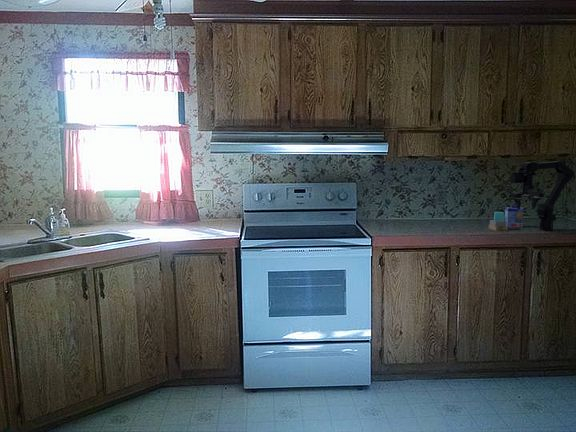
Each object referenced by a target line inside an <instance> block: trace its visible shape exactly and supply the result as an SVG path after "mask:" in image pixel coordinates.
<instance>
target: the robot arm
mask: <svg viewBox="0 0 576 432" xmlns="http://www.w3.org/2000/svg"><path fill="white" fill-rule="evenodd" d="M548 169H554V171H555V172H556V173H557V176H556V179H557V180H556V182H555V184H554V186H553V188H552V190H551V191H550V193H549V195H548V197H547V198H546V200H545V202H543V203H542V202H541V203H539V205H538V207H537V208H536V206H537V204H538V202H539V201H540V200H541V199H543V198H544V197H545V193H544V192H543V189H542V188H540V187H539V188H536V187H535V184H534V177H535V176H538V174H537V173H536V172H537V171H539V170H548ZM574 177H575V171H574V170H573V169H571V168H570V167H569V166H568V165H566V164H565V163H564V162H562V161H560V160H554V161H545V162H534V161H523V163H522V164H521V167H520V168H519V169H518V171H516V172H515V171H512V172H511V174H510V175H509V178H508V179H509V183H510V184H513V185H514V184H520V187H521V191H520V192H511V193H510V194H509V198H511V199H513V201H514V204H516V205H515V206H517V208H518V210H520V207H521V201H522V198H523V197H526V198H527V197H531V209H533V210H535V208H536V209H537V210H536V214H537V216H538V219H539V220H540V222H539V227H538V230H541V231H545V232H546V231H548V232H549V231H555V229H554V221H556V220H557V216H556V215H555V214H554V211H555V208H554V207H555V204H556V203H557V201H558V198H559V197H560V195H561V194H562V191H563V190H564V188H565V186H566V185H567V184H568V183H569V182H571V181H572V180H573V178H574Z"/></svg>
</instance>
